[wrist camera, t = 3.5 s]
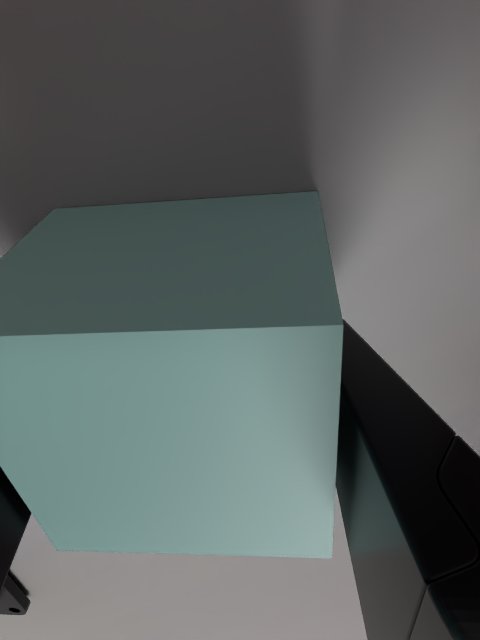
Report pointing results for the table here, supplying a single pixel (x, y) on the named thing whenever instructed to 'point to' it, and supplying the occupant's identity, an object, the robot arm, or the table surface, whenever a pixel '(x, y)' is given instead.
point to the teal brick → (174, 376)
